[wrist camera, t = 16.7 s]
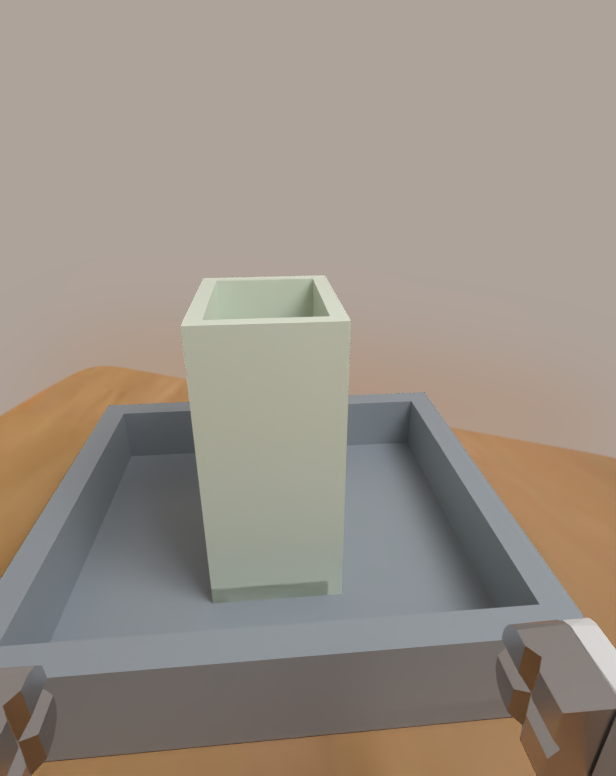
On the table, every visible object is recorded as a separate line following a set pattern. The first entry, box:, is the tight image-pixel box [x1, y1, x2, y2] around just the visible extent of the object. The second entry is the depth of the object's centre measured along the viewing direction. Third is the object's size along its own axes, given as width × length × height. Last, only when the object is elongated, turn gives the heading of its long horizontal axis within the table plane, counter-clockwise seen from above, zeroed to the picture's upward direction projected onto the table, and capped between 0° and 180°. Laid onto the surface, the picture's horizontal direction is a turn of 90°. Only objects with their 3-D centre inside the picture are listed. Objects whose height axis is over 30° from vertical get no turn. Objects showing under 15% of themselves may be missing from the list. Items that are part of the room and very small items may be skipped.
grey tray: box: [0, 392, 585, 762], centre depth 24 cm, size 20×18×4 cm
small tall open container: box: [180, 276, 351, 603], centre depth 21 cm, size 5×7×12 cm
